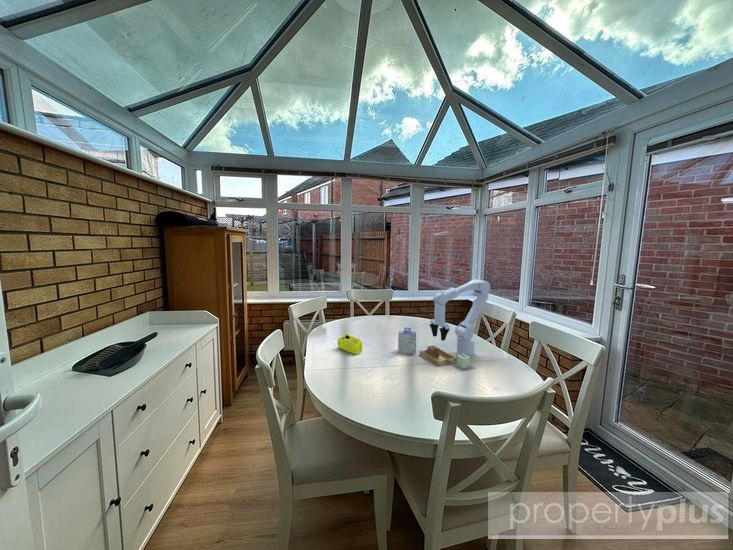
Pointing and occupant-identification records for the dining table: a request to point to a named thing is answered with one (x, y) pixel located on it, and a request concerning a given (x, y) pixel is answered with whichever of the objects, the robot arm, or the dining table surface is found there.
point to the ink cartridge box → (407, 341)
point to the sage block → (463, 361)
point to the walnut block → (433, 351)
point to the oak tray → (439, 358)
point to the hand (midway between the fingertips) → (438, 338)
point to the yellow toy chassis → (350, 344)
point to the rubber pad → (461, 368)
